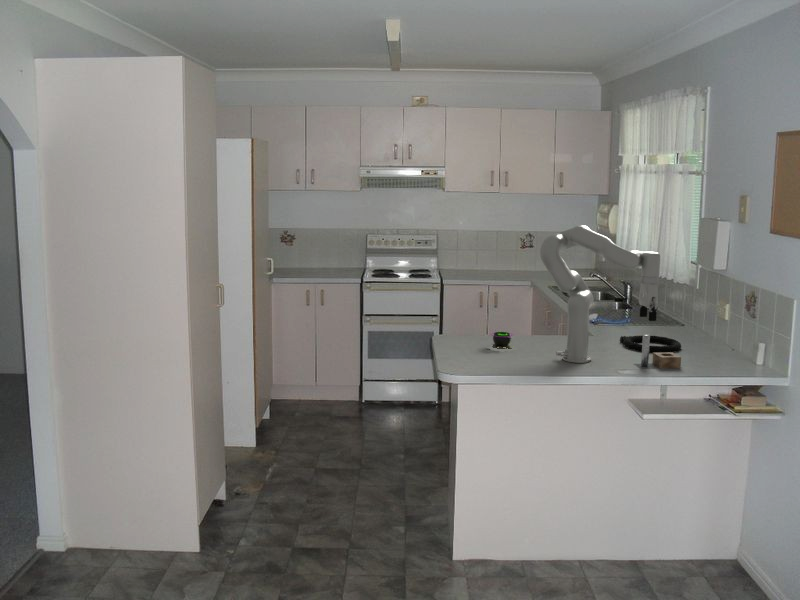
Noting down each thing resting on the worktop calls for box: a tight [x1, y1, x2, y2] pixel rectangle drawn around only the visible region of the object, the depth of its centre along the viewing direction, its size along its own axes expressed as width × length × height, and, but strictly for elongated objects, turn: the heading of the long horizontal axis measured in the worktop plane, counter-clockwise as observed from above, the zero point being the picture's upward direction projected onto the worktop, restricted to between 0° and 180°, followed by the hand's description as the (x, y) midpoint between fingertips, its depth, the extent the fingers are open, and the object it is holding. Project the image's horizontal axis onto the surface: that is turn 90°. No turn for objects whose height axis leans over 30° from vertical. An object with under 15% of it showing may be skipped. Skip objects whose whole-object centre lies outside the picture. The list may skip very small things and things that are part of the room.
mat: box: [633, 363, 683, 370], centre depth 349 cm, size 19×9×1 cm, turn 95°
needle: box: [640, 334, 651, 367], centre depth 347 cm, size 3×3×14 cm
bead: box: [651, 352, 682, 369], centre depth 349 cm, size 9×9×5 cm
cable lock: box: [619, 334, 682, 354], centre depth 389 cm, size 28×4×30 cm
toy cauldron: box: [491, 325, 514, 349], centre depth 382 cm, size 15×15×11 cm
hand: (647, 318), depth 345 cm, fingers open, 9 cm apart
